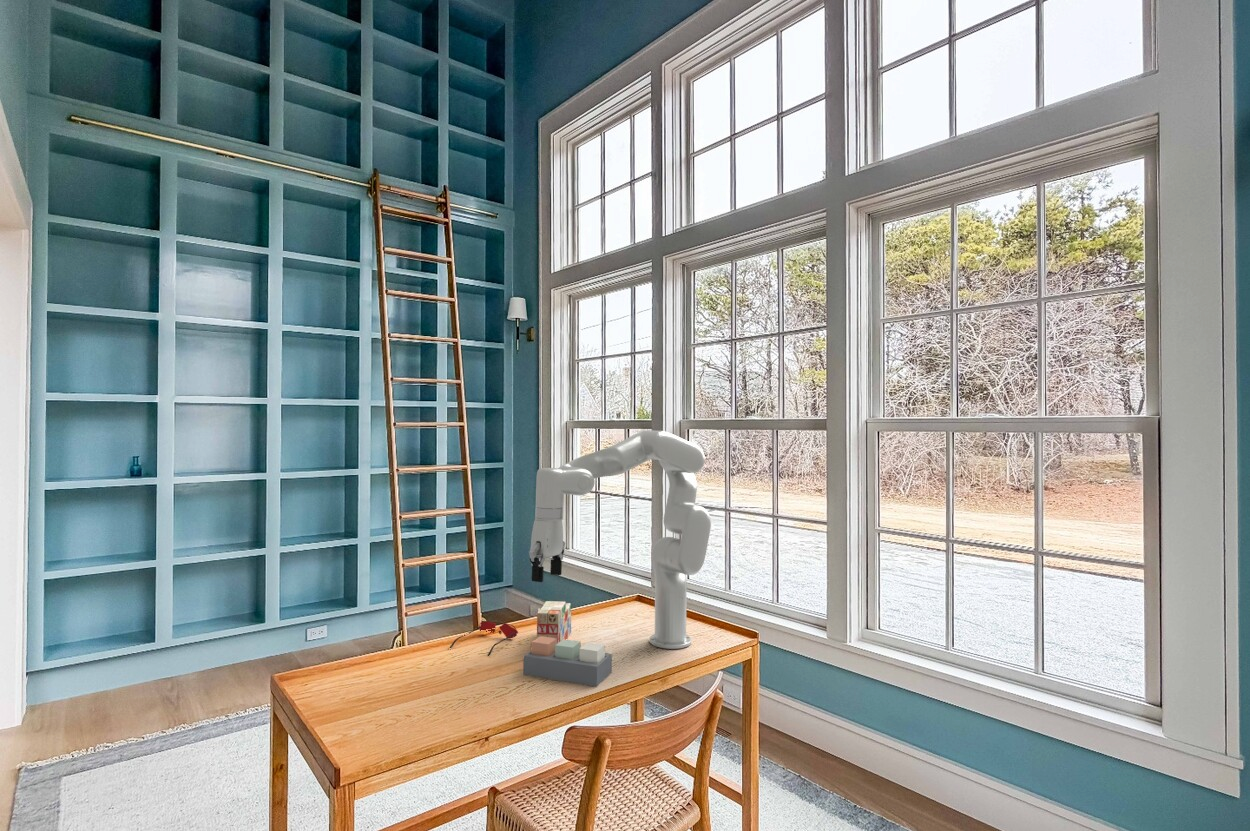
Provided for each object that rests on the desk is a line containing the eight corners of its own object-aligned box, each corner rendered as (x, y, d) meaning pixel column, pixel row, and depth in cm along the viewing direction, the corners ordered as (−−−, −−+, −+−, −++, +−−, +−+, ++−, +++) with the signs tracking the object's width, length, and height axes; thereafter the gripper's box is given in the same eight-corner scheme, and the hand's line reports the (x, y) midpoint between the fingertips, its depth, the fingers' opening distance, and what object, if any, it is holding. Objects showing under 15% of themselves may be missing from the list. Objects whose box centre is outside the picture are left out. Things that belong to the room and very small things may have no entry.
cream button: (587, 661, 176) (587, 642, 176) (604, 664, 174) (604, 644, 174) (579, 667, 171) (579, 648, 171) (597, 670, 170) (597, 651, 170)
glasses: (519, 640, 203) (519, 624, 203) (488, 658, 187) (488, 640, 187) (480, 634, 208) (480, 618, 208) (447, 651, 193) (447, 634, 193)
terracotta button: (540, 654, 181) (540, 636, 181) (556, 657, 179) (556, 638, 179) (531, 660, 176) (531, 641, 176) (548, 663, 174) (548, 644, 174)
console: (541, 662, 184) (541, 643, 184) (611, 672, 176) (611, 653, 176) (523, 674, 174) (523, 655, 174) (596, 686, 167) (597, 666, 167)
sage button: (563, 657, 178) (563, 639, 178) (580, 660, 177) (580, 641, 177) (555, 664, 174) (555, 645, 174) (572, 666, 172) (572, 647, 172)
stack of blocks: (551, 631, 210) (552, 592, 210) (571, 632, 210) (571, 593, 210) (536, 655, 189) (536, 612, 189) (558, 656, 188) (558, 612, 189)
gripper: (553, 510, 188) (550, 570, 187) (519, 516, 172) (517, 582, 172) (576, 512, 185) (574, 573, 184) (544, 518, 169) (542, 586, 169)
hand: (546, 577), depth 178 cm, fingers open, 9 cm apart
